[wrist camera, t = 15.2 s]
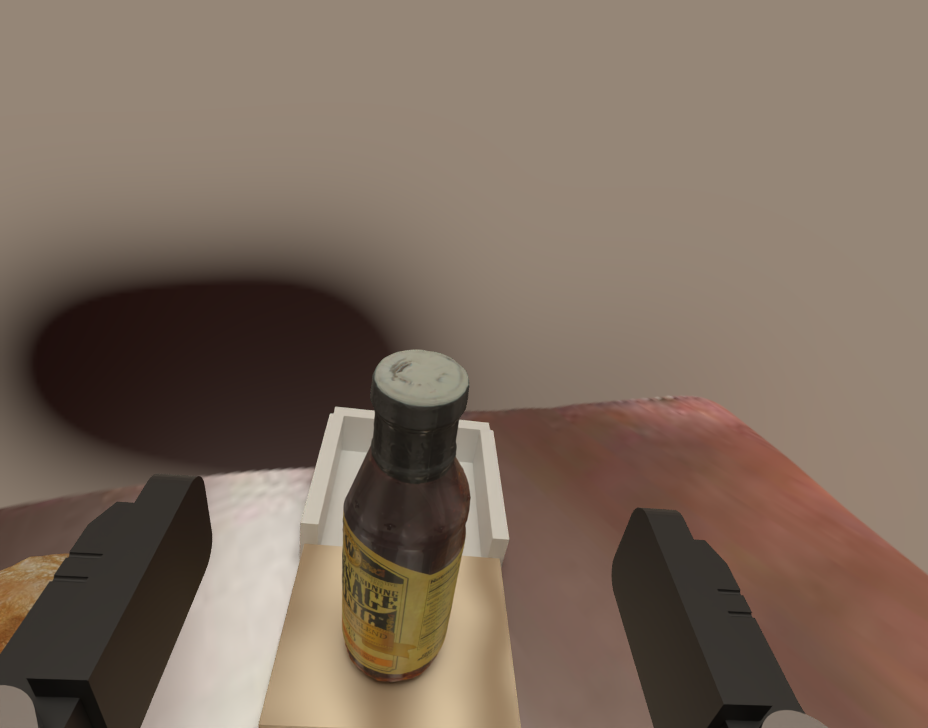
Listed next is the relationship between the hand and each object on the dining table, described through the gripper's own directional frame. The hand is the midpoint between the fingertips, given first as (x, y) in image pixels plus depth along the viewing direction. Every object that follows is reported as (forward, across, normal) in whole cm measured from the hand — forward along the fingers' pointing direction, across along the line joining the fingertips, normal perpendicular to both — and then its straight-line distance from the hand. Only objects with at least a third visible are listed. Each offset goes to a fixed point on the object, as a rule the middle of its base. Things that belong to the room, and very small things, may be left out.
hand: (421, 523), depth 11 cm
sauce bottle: (+13, 0, +25) cm, 28 cm away
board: (+14, 0, +27) cm, 30 cm away
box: (+26, 0, +28) cm, 38 cm away
